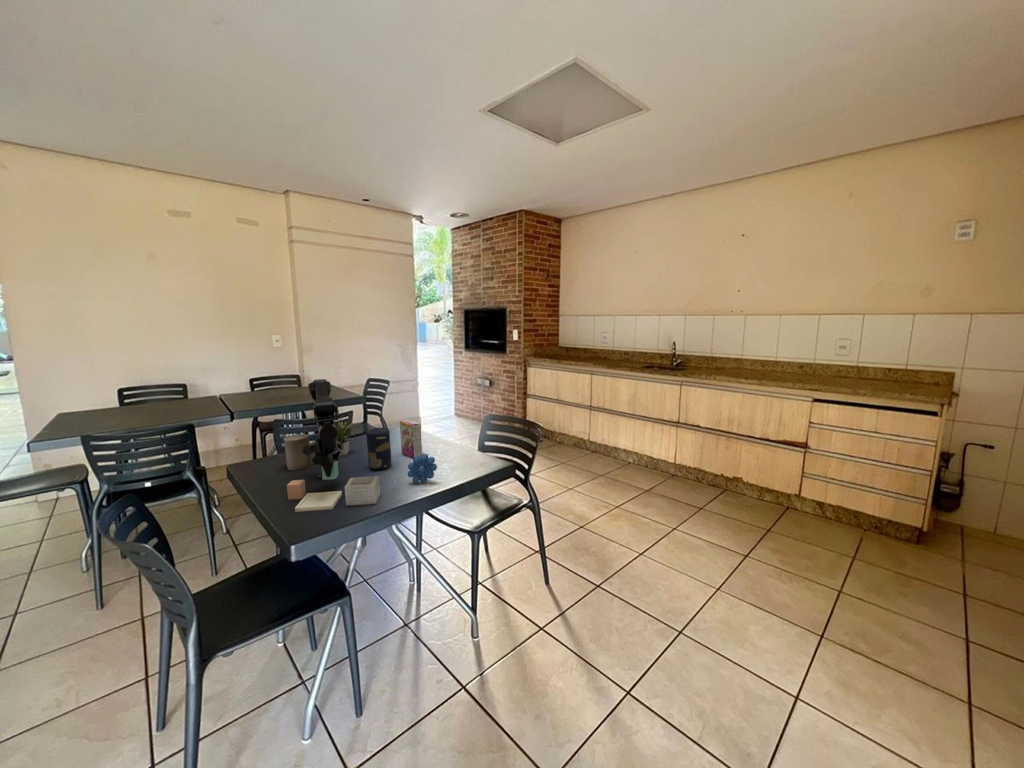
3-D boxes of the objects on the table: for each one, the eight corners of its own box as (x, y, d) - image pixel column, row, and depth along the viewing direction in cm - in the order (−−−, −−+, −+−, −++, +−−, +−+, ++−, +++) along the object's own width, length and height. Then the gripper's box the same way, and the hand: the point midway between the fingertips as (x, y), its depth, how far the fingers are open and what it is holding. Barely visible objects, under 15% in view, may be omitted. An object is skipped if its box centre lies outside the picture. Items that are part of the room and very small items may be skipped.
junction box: (352, 495, 150) (350, 476, 149) (380, 493, 151) (378, 474, 150) (346, 505, 142) (344, 485, 141) (375, 503, 143) (374, 483, 142)
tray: (307, 496, 149) (307, 493, 149) (342, 494, 151) (341, 491, 151) (295, 511, 138) (294, 508, 138) (332, 509, 139) (332, 505, 139)
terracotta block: (293, 494, 152) (291, 480, 151) (305, 493, 152) (304, 479, 152) (288, 499, 147) (286, 485, 147) (301, 498, 148) (300, 484, 147)
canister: (388, 462, 185) (385, 423, 182) (394, 468, 177) (392, 428, 175) (366, 466, 180) (363, 426, 177) (372, 473, 172) (369, 431, 169)
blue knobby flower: (439, 478, 165) (438, 449, 163) (436, 485, 159) (435, 455, 157) (410, 479, 165) (408, 450, 163) (406, 485, 158) (404, 456, 156)
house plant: (339, 461, 187) (336, 426, 184) (318, 457, 193) (315, 423, 190) (363, 452, 200) (360, 419, 197) (342, 448, 206) (339, 417, 203)
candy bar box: (400, 454, 196) (399, 420, 194) (410, 451, 200) (408, 418, 197) (413, 459, 188) (411, 424, 186) (422, 456, 192) (421, 422, 189)
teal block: (326, 475, 156) (325, 461, 155) (338, 474, 157) (337, 460, 156) (322, 479, 152) (321, 465, 151) (335, 479, 152) (334, 464, 152)
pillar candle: (316, 463, 185) (312, 431, 183) (303, 470, 175) (299, 437, 173) (295, 463, 186) (292, 431, 184) (281, 470, 176) (278, 437, 174)
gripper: (312, 428, 160) (316, 467, 162) (294, 442, 142) (298, 485, 144) (342, 427, 161) (345, 465, 164) (328, 441, 143) (331, 483, 145)
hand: (330, 474), depth 154 cm, fingers closed on teal block, 4 cm apart
